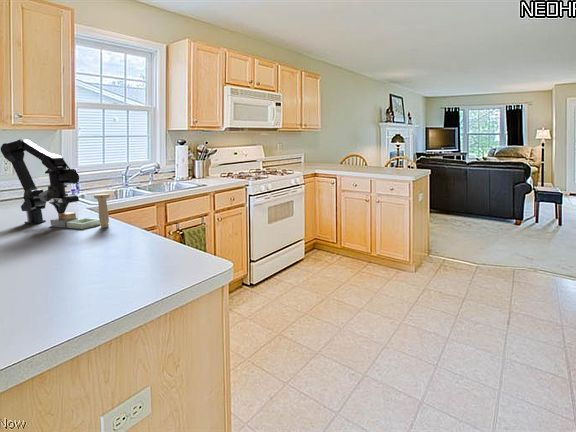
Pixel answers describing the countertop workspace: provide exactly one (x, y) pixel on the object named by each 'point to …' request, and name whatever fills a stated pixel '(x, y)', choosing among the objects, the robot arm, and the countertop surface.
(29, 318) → the countertop surface
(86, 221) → the tray
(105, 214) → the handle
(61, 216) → the tan block
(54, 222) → the slate platform
